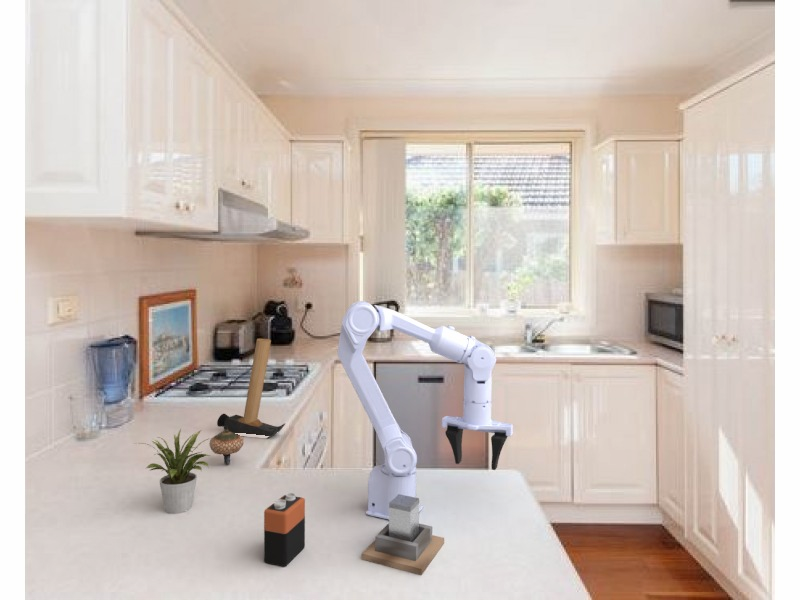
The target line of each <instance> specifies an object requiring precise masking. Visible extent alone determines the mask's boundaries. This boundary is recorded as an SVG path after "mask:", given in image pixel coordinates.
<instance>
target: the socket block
mask: <svg viewBox="0 0 800 600" xmlns="http://www.w3.org/2000/svg"><path fill="white" fill-rule="evenodd" d="M444 544H445V537H443V536H437V535H434V534H433V526H432V525H429V524H428V525H427V524H423V523H419V536H418V537H417V538H416V539H415V540H414V542H409V541H405V540H401V539H397V538H393V537H389V522H388V523H387V524H386V525H385V526H384V527H383V528H382V529H381V530H380V531H379V532H378V533H377V534H376V535H375V537H374V539H373V541H372V542H371V543H370V544H369V545H368V546H367V547H366V548H365V550H363V551H362V552H361V560H363V561H367V562H369V563H370V562H371V563H375V564H378V565H382V566H387V567H389V568H394V569H397V570H401V571H405V572H408V573H412V574H416V575H420V576H422V575H423V574H424V573H425V572H426V570H427V568H428V567H429V565H430V564H431V563H432V561H433V560H434V559H435V557H436V555H437V554H438V552H439V551H440V550H441V548H442V546H444Z"/></svg>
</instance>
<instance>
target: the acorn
mask: <svg viewBox="0 0 800 600" xmlns="http://www.w3.org/2000/svg"><path fill="white" fill-rule="evenodd" d="M209 440H210V441H209V447H210V450H211V451H212V452H213V453H214V454H216V455H222V456H223V463H224V465H225V466H229V465H230V464H231V455H233V454H236V453H238V452H239V451H240V450H241V449H242V447H243V446H244V444H245V441H244V438H243V436H240V435H238V434H235V433H233V432H229V430H228V427H226V430H224V431H222V432H219V433H218V434H216V435H214V436H213V437H211V439H209Z"/></svg>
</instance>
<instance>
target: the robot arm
mask: <svg viewBox="0 0 800 600" xmlns="http://www.w3.org/2000/svg"><path fill="white" fill-rule="evenodd" d="M374 307H375V308H374ZM376 329H378V330H379V332H383V331H389V330H394V331H398V332H400V333H402V334H405V335H408V336H410V337H412V338H415V339H417V340H419V341H423V342H425V343H428V346H429V349H430V351H431V352H432V353H434V354H437V355H439V356H441V357H444V358H446V359H448V360H451V361H453V362H455V363H458V364H464V370H463V371H464V377H463V400H462V401H463V403H462V404H463V406H462V407H463V408H462V416H449V415H445V416H444V417H442V418H441V427H442V428H446V430H445V433H444V434H445V436H446V438H447V439H448V442H449V444H450V446H451V449H452V453H453V457H454V463H455V464H456V465H459V464H460V463H461V462H462V461H463V460H462V459H463V458H462V456H463V450H462V449H463V448H462V447H463V446H462V445H463V444H462V443H463V433H464V430H468V431H476V432H482V433H490V434H493V435H492V436H491V438H490V441H491V470H493V471H496V470H497V468H498V465H499V460H500V455H501V453H502V450H503V447H504V444H505V443H506V440H507V439H508V437H512V436H513V434H514V424H511V423H507V422H506V423H505V422H501V421H497V420H492V394H493V393H492V392H493V391H492V390H493V384H492V382H493V379H492V370H493V368H494V367H495V365H496V363H497V357H496V355H495V352H494V350H493V349H492V348H491V346H489V345H488V344H485V343H483V342H481V341H480V340H478V339H476V337H475V336H473V335H470V336H467V335H465V334H462V333H461V332H458V331H456V328H455V327H454V326H452V325H451V326H450V325H447V326H444V325H440V326H438V327H436V328H432V327H430V326H428V325H426V324H423V323H422V322H419V321H417V320H416V319H413V318H411V317H410V316H407V315H404V314H403V313H400V312H398V311H396V310H394V309H391V308H388V307H384V306H380V305H377V304H374V306H373V305H372V304H371V303H369V302H367V301H363V300H358V301H355V302H354V303H352V304H351V305H350V306H349V307H348V309H347V310H346V313H345V314H344V316H343V318H342V322H341V327H340V333H339V341H338V346H337V347H338V348H337V357H338V359H339V361H340V363H341V365H342V367H343V368H344V371H345V373H346V375H347V377H348V380H349V381H350V382H351V385H352V387H353V389H354V391H355V393H356V395H357V397H358V399H359V400H360V402H361V405H362V407H363V409H364V411H365V413H366V415H367V417H368V419H369V420H370V423H371V425H372V426H373V428H374V431H375V432H376V435H377V437H378V441H379V442H380V445H381V448H382V451H383V455H384V461H383V462H382V464H381V465H375V466H373V467H372V469H371V470H370V472H369V475H368V476H369V477H368V481H367V482H368V483H367V510H366V512H365V514H366V515H367V516H370V517H375V518H376V517H377V518H381V519H385V520H389V503H390V502H391V501H392V500H393V499H394V498H395V497H396V496H397V495H398V494H400V495H405V496H410V497H415V498H417V466H416V465H417V462H418V455H417V452H416V451H415V449H414V446H413V442H412V439H411V437H410V436H409V435H408V433H406V432H404V431H403V430H402V429H401V427H400V425H399V423H398V422H397V420H396V419H395V417H394V414H393V412H392V411H391V409H390V406H389V404H388V402H387V400H386V398H385V396H384V394H383V393H382V391H381V389H380V385H378V382H377V380H376V378H375V376H374V375H373V372H372V370H371V368H370V366H369V364H368V362H367V360H366V358H365V356H364V353H363V352H364V349H365V347H366V344H367V342H368V339H369V338H370V337H371V335H372V334H374V332H375V330H376ZM423 508H424V506H423V505H421V504H419V513H420V512H421V511H422V510H423Z"/></svg>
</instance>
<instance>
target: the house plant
mask: <svg viewBox="0 0 800 600" xmlns="http://www.w3.org/2000/svg"><path fill="white" fill-rule="evenodd" d="M181 432H182V428H180V429H179V430H178V433H177V436H176V434H173V438H174V443H173V444H174V448H175V449H174V451H175V452H173V451H172V450H171V449H170V448H169V445H168V443H167V441H166V440H165V439H164V438H163V437H162V438H161V437H159V436H157V438H159V439H161V440H162V441H163V442H164V444H165V446H166V447H164V446H163V444H162V443H160V441H159V440H157V439H154V438H152V440H151V442H152V444H154V445H156V447H157V448H158V450H159V451H160V452H161V453H160V452H157V453H155V454H154V456H155V455H158V456H159V457H160V458H161V460H163V462H164V465H165V467H166V469H165V467H163V466H162V465H160V464H158V463H154V462H153V463H149V464H148V465H147V466H146V467H145V469H149V470H148V472H149V471H155V470H161V472H163V471H164V472H166V474H167V475H164V476H162V477H161V478H160V479H159V485H160V486H159V487H160V490H161V497H162V502H163V506H164V507H163V508H164V511H165V513H166V514H173V515H174V514H181V513H185V512H187V511H190V509H192V507H193V502H194V498H195V497H194V496H195V491H196V486H197V479H198V475H197V474H196V473H195V472H191V471H192V470H200V472H203V471H202V467H201V466H200V465H203V466H206V467H207V468H208V469H210V468H209V466H210V465H209V464H208V462H206V461H204V460H202V461H199V459H201V458H204V457H210V456H211V455H210V454H206V453H202V451H201V452H200V451H198V452H194V451H195V450H196V449H198V447H199V446H200V445H201V444H203V443H204V442H205V441H209V440H211V438H212V437H211V438H207V439H204V440H202V441H201V442H200V443H198V444H197V445H196V446H195V447H193V446H194V445H195V443H196V441H197V437H198V436H199V434H201V430H199V431H197V432H195V433H193V434H192V435H190V436H189V437H188V438H187V439H186V440H185V442H184V443H183V445H182V446H181V445H180V436H181ZM186 443H187V444H186ZM133 444H136V442H135V443H133ZM140 444H143V445H148V446H150V444H148V443H145V442H139V445H140ZM152 448H154V449H155V447H153V446H152ZM192 449H193V450H192ZM190 452H191V453H190ZM193 452H194V453H193Z"/></svg>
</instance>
